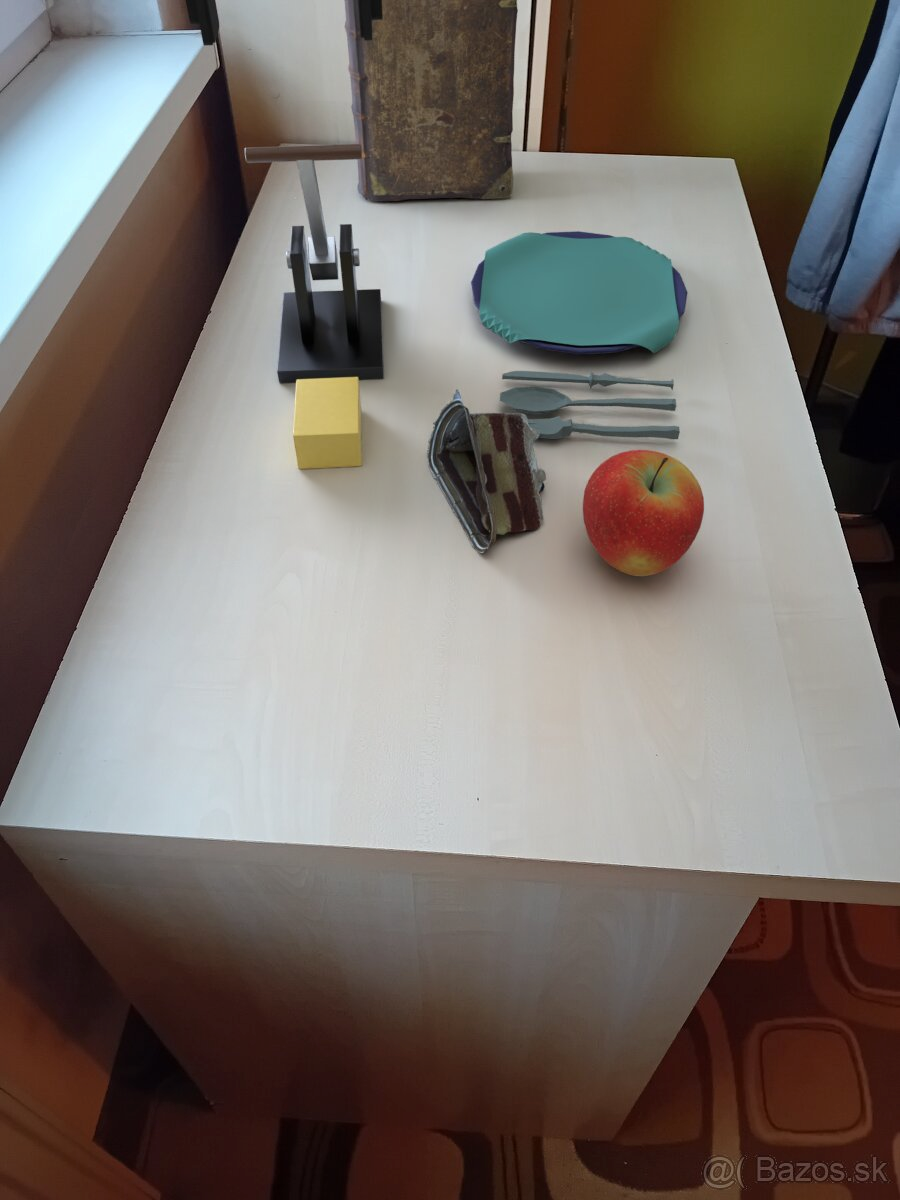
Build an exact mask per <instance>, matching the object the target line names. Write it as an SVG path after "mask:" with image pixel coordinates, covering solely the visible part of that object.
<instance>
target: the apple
mask: <svg viewBox="0 0 900 1200" xmlns="http://www.w3.org/2000/svg"><path fill="white" fill-rule="evenodd" d="M704 513H705V498H704V494H703V489H702V487H701V484H700V482H699V480H698V478H696V476H695V475H694V474H693V472H692V471H691V470H690V469H689V468H688V467H687V466H686V465H685V464H684V463H683V462H681V461H680V460H678V459H676V458H675V457H673V456H671V455H668V454H666V453H664V452H660V451H656V450H651V449H650V450H649V449H633V450H627V451H622V452H619V453H617V454H614V455H612V456H610V457H609V458H607V459H605V460H604V461H603V462H602V463H600V465H598V466H597V467H596V468H595V470H593V472H592V474H591V475H590V477H589V478H588V480H587V483H586V485H585V488H584V493H583V498H582V516H583V524H584V527H585V530H586V533H587V536H588V538H589V541H590V543H591V545H592V546H593V548H594V550H595V551H596V552H597V554H598V555H599V556H600V558H601V559H602V560H603V561H605V562H606V564H608V565H609V566H611V567H612V568H613V569H615V570H617V571H619V572H621V573H623V574H626V575H628V576H629V575H630V576H634V577H648V576H653V575H657V574H659V573H661V572H663V571H665V570H667V569H669V568H671V567H672V566H673V565H675V563H677V562H678V561H680V559H681V558H683V556H684V555H685V554H686V553H687V552H688V551H689V549H690V548H691V546H692V545H693V543H694V542H695V540H696V538H697V536H698V533H699V531H700V529H701V526H702V522H703V518H704Z"/></svg>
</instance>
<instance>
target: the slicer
mask: <svg viewBox="0 0 900 1200" xmlns="http://www.w3.org/2000/svg"><path fill="white" fill-rule="evenodd" d="M353 235H354V234H353V226H352V224H351V223H346V224H344V223H343V224H341V223H340V224H339V249H338V251H339V253H338V254H339V263H340V265H339V266H340V274H341V284H342V290H315V291H313V288H312V281H311V280H312V279H311V271H310V266H309V255H308V249H307V248H308V247H307V241H306V233H305V226H304V225H292V226H291V233H290V243H289V244H290V246H289V248H290V249H289V250H286V253H285V257H286V265H287V269H289V270H291V273H292V282H293V287H294V291H290V292H287V291H286V292H283V294H282V295H283V297H282V307H281V308H282V309H281V322H280V332H279V345H278V358H277V369H276V373H277V379H278V383H279V384H282V383H283V384H284V383H287V384H288V383H296V380H297V379H319V378H342V377H358V379H359V380H360V381H361V380H380V379H384V378H385V373H384V372H385V371H384V347H383V345H384V344H383V342H384V341H383V316H382V315H383V314H382V292H381V291H382V290H381V288H371V289H368V288H367V289H358V283H357V271H356V270H357V269H356V267H360V266H361V260H360V259H361V258H360V257H361V255H360V249H359V248H354V237H353Z"/></svg>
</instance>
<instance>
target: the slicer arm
mask: <svg viewBox="0 0 900 1200" xmlns="http://www.w3.org/2000/svg"><path fill="white" fill-rule="evenodd" d="M244 156H245V157H244V158H245V162H246V163H248V164H253V163H255V164H256V163H285V162H296V166H297V171H298V176H299V181H300V185H301V186H300V187H301V190H302V196H303V201H304V206H305V211H306V215H307V221H308V225H309V232H310V236H308V237H307V248H308V249H307V253H308V264H309V272H310V276H311V280H312V281H333V280H334V281H335V280H336V281H337V280H339V260H338V259H339V257H338V256H339V255H338V248H337V243H336V236H334V235H330V236H329V235H328V236H327V228H326V224H325V217H324V213H323V212H324V211H323V207H322V201H321V194H320V189H319V182H318V177H317V171H316V166H315V165H316V164H315V162H317V161H347V160H348V161H350V160H357V159H362V149H361V144H355V143H351V144H348V143H347V144H319V145H318V144H317V145H315V144H314V145H287V146H281V145H280V146H256V147H255V146H253V147H245V148H244Z"/></svg>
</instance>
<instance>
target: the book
mask: <svg viewBox="0 0 900 1200" xmlns="http://www.w3.org/2000/svg"><path fill="white" fill-rule="evenodd" d="M518 11H519V9H518V0H382V12H383V20H372V40H369V41H364V38H361V34H360V20H359V6H358V0H344V12H345V14H344V15H345V22H344V30H345V33H346V38H347V39H346V40H347V52H348V67H347V70H348V74H349V78H350V87H351V88H350V89H351V101H352V103H351V107H350V108H351V113H352V115H353V125H354V126H353V127H354V136H355V142H354V144H361V149H362V159H356V163H357V176H358V177H357V179H358V183H357V192H358V194H360V195H361V196H362V197H363V198H364V199H365V200H367V199H368V200H371V201H375V202H376V201H378V202H387V201H391V202H392V201H393V202H397V201H398V202H399V201H404V200H405V201H406V200H422V199H423V200H424V199H425V200H427V199H444V198H445V199H457V198H463V199H464V198H465V199H482V200H488V199H489V200H491V199H506V198H511V196H512V195H513V193H514V172H513V155H512V147H513V145H512V144H513V143H512V134H513V131H514V126H513V124H514V123H513V122H514V120H513V117H514V116H513V111H514V110H513V109H514V97H515V96H514V95H515V83H514V82H515V80H514V79H515V54H516V53H515V52H516V36H517V20H518Z"/></svg>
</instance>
